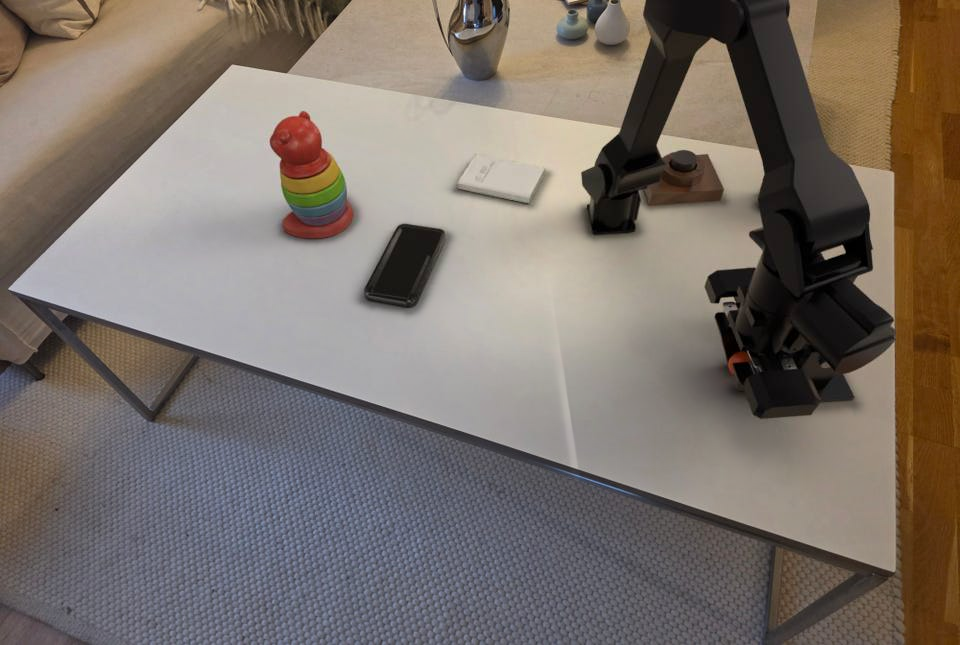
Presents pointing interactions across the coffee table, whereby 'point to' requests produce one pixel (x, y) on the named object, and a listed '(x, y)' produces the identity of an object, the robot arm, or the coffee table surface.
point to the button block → (686, 184)
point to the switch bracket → (823, 377)
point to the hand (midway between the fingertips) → (737, 379)
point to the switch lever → (744, 357)
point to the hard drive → (502, 178)
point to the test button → (683, 161)
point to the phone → (405, 265)
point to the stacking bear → (310, 180)
